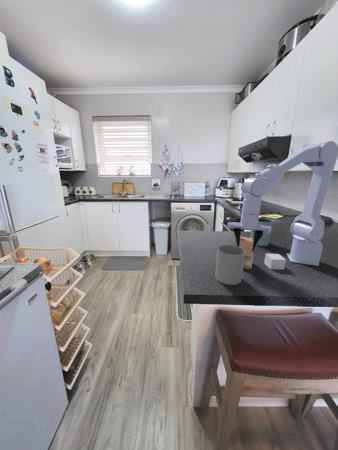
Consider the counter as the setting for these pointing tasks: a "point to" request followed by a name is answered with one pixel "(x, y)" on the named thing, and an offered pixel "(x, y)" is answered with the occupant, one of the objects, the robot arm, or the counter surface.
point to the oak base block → (248, 262)
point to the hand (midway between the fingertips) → (245, 248)
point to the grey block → (275, 261)
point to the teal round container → (266, 236)
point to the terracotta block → (246, 245)
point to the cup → (229, 264)
